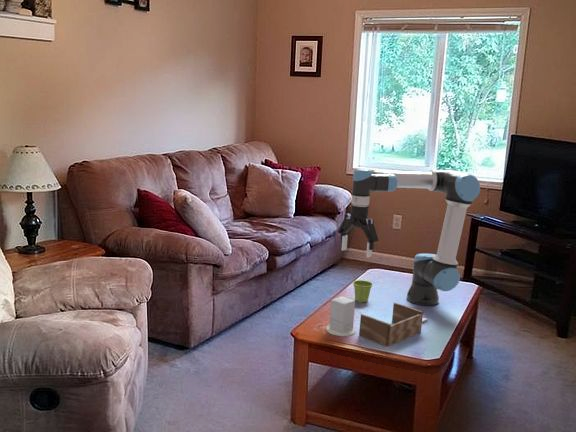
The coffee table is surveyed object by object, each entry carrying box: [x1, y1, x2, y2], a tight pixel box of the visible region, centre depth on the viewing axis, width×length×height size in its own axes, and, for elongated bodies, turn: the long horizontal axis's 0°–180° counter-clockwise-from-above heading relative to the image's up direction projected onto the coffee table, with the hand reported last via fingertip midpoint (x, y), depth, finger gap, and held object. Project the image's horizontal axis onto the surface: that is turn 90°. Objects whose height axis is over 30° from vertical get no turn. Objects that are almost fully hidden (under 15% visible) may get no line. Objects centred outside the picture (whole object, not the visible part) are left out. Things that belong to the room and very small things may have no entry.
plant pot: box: [352, 279, 374, 303], centre depth 289 cm, size 9×9×9 cm
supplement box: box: [328, 295, 356, 333], centre depth 250 cm, size 7×7×13 cm
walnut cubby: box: [358, 302, 424, 347], centre depth 250 cm, size 24×14×9 cm, turn 135°
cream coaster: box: [326, 324, 356, 337], centre depth 251 cm, size 12×12×1 cm
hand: (356, 253), depth 263 cm, fingers open, 13 cm apart
